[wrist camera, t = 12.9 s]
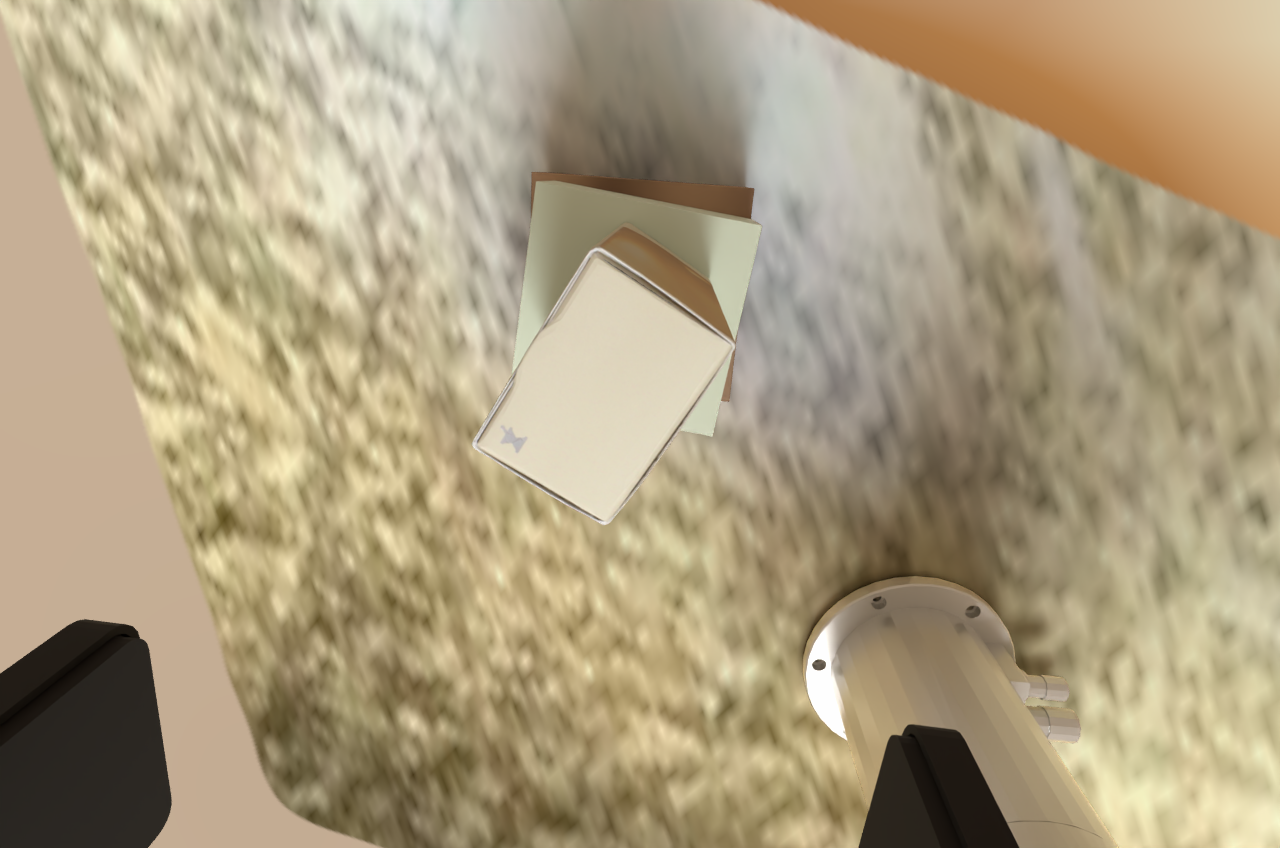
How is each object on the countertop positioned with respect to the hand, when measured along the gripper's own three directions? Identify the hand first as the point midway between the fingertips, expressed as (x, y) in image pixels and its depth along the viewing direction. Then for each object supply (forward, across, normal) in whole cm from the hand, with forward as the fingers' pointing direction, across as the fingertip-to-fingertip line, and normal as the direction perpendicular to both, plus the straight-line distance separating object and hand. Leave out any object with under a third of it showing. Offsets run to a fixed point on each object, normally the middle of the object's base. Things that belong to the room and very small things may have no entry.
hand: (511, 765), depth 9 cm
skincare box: (+22, 0, -2) cm, 22 cm away
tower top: (+26, 0, -2) cm, 26 cm away
